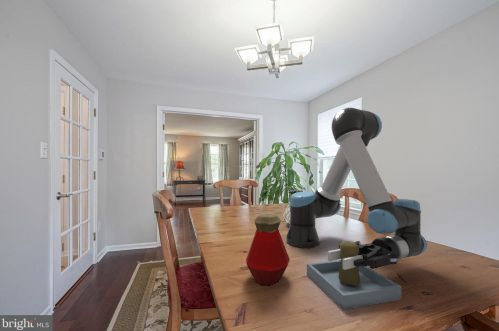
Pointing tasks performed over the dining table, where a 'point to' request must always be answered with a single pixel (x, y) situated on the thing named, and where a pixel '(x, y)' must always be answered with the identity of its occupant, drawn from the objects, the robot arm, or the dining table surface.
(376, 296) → the tray
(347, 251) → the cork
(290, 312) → the dining table surface
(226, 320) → the dining table surface
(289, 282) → the dining table surface
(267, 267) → the bottle
